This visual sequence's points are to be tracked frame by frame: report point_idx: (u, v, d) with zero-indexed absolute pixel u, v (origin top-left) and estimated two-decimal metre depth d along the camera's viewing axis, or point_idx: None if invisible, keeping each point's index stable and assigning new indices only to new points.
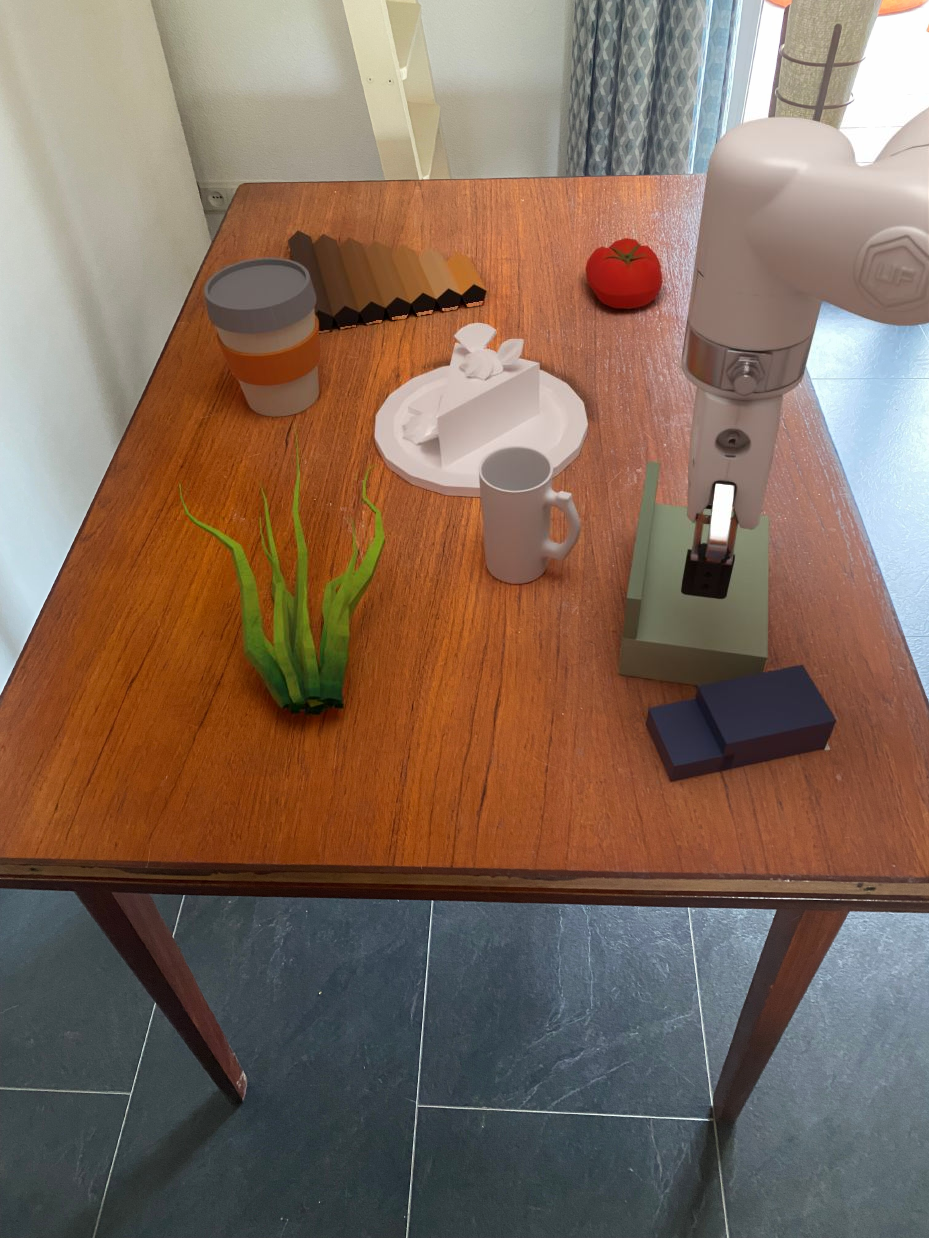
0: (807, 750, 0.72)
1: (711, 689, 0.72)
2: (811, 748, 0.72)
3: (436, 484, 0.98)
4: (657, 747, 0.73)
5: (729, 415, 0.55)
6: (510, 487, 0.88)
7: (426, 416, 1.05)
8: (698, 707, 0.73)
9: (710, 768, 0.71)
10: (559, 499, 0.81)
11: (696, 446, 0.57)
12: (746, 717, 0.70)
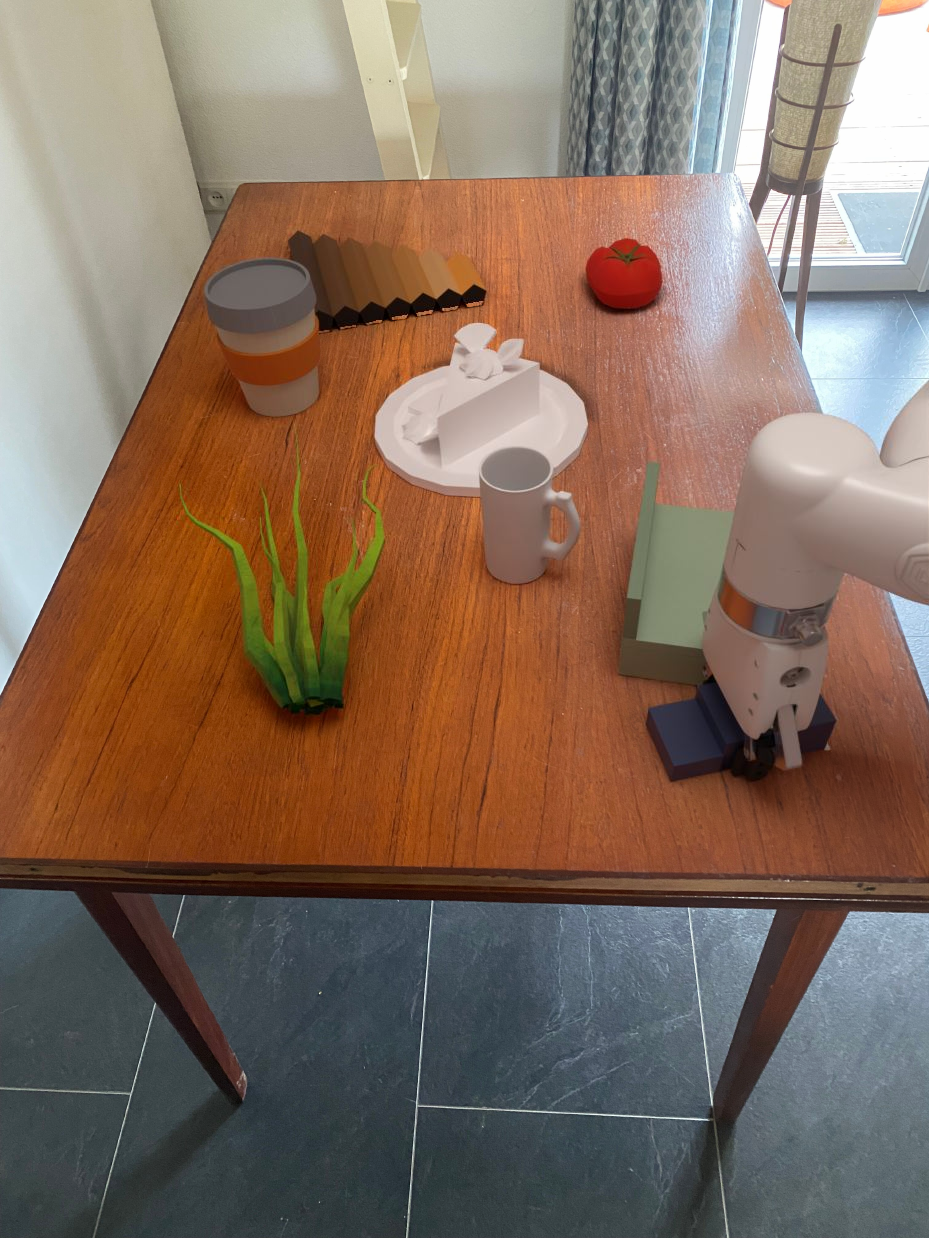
0: (807, 750, 0.72)
1: (711, 689, 0.72)
2: (811, 748, 0.72)
3: (436, 484, 0.98)
4: (657, 747, 0.73)
5: (792, 658, 0.60)
6: (510, 487, 0.88)
7: (426, 416, 1.05)
8: (698, 707, 0.73)
9: (710, 768, 0.71)
10: (559, 499, 0.81)
11: (758, 684, 0.62)
12: None
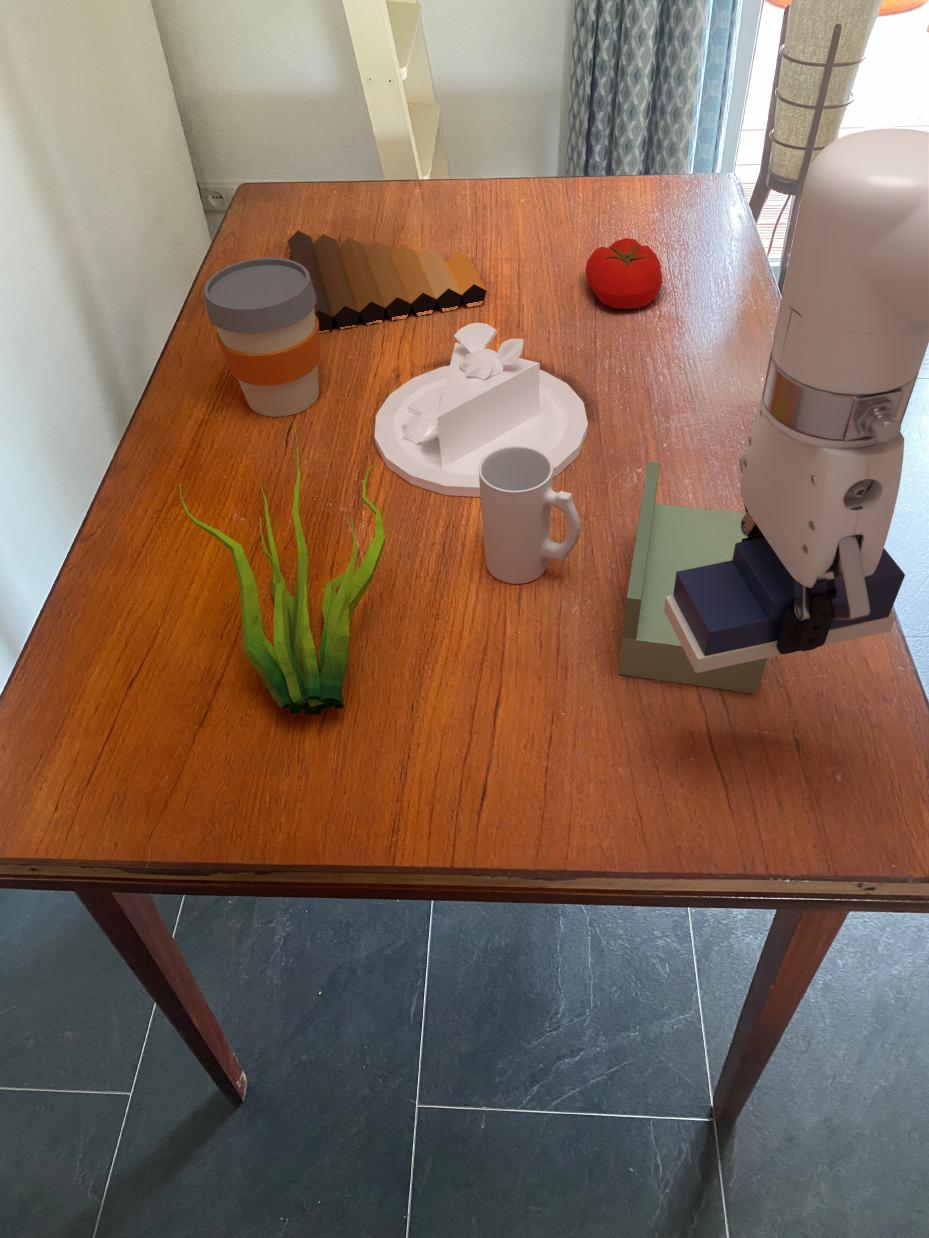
0: (868, 617, 0.60)
1: (751, 546, 0.61)
2: (873, 615, 0.60)
3: (436, 484, 0.98)
4: (688, 617, 0.61)
5: (859, 466, 0.48)
6: (510, 487, 0.88)
7: (426, 416, 1.05)
8: (736, 569, 0.62)
9: (752, 637, 0.59)
10: (559, 499, 0.81)
11: (816, 508, 0.50)
12: None
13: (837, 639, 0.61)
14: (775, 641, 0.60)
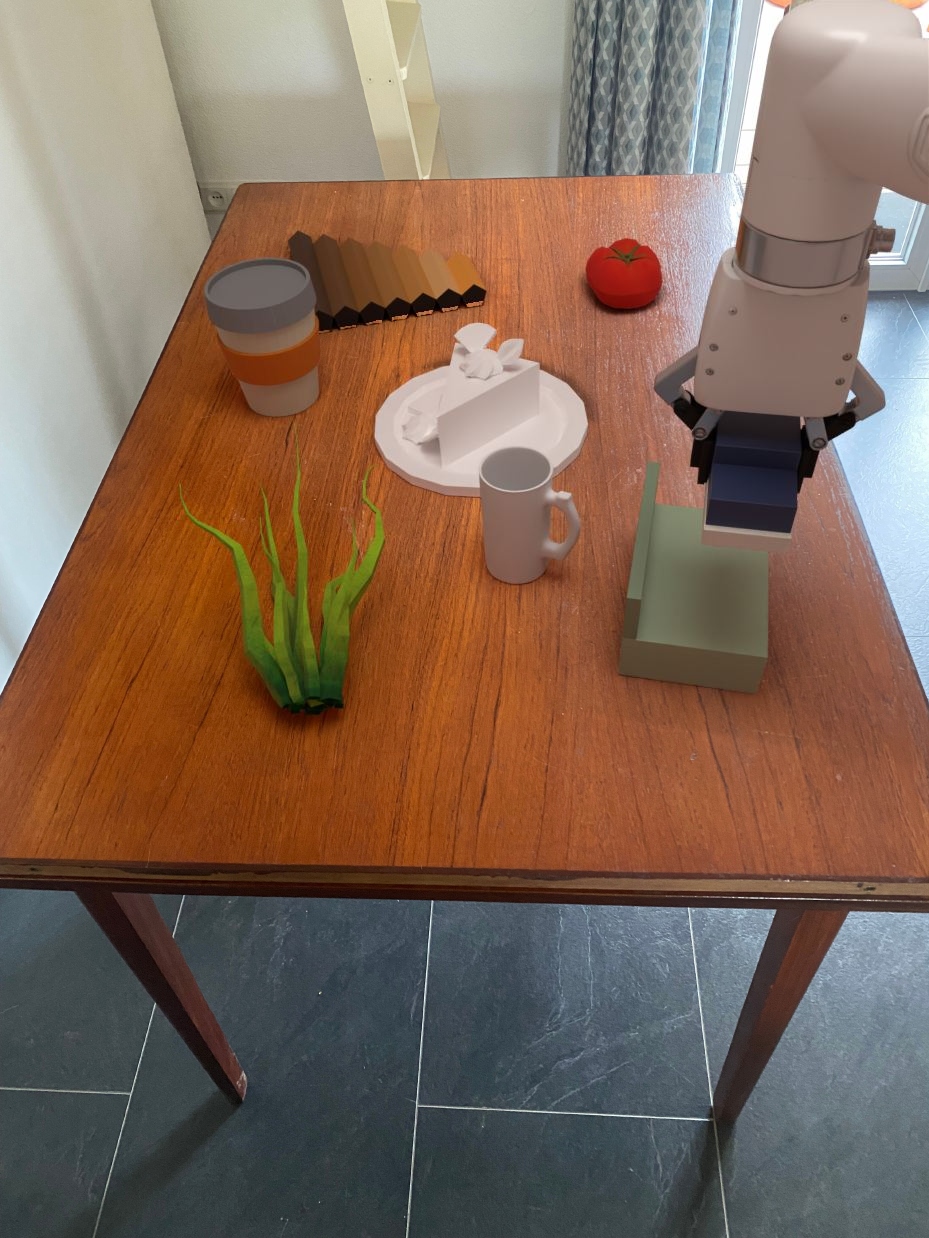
0: None
1: (725, 438, 0.64)
2: None
3: (436, 484, 0.98)
4: (746, 523, 0.63)
5: (868, 284, 0.56)
6: (510, 487, 0.88)
7: (426, 416, 1.05)
8: (726, 465, 0.65)
9: None
10: (559, 499, 0.81)
11: (851, 339, 0.57)
12: (772, 428, 0.65)
13: None
14: None
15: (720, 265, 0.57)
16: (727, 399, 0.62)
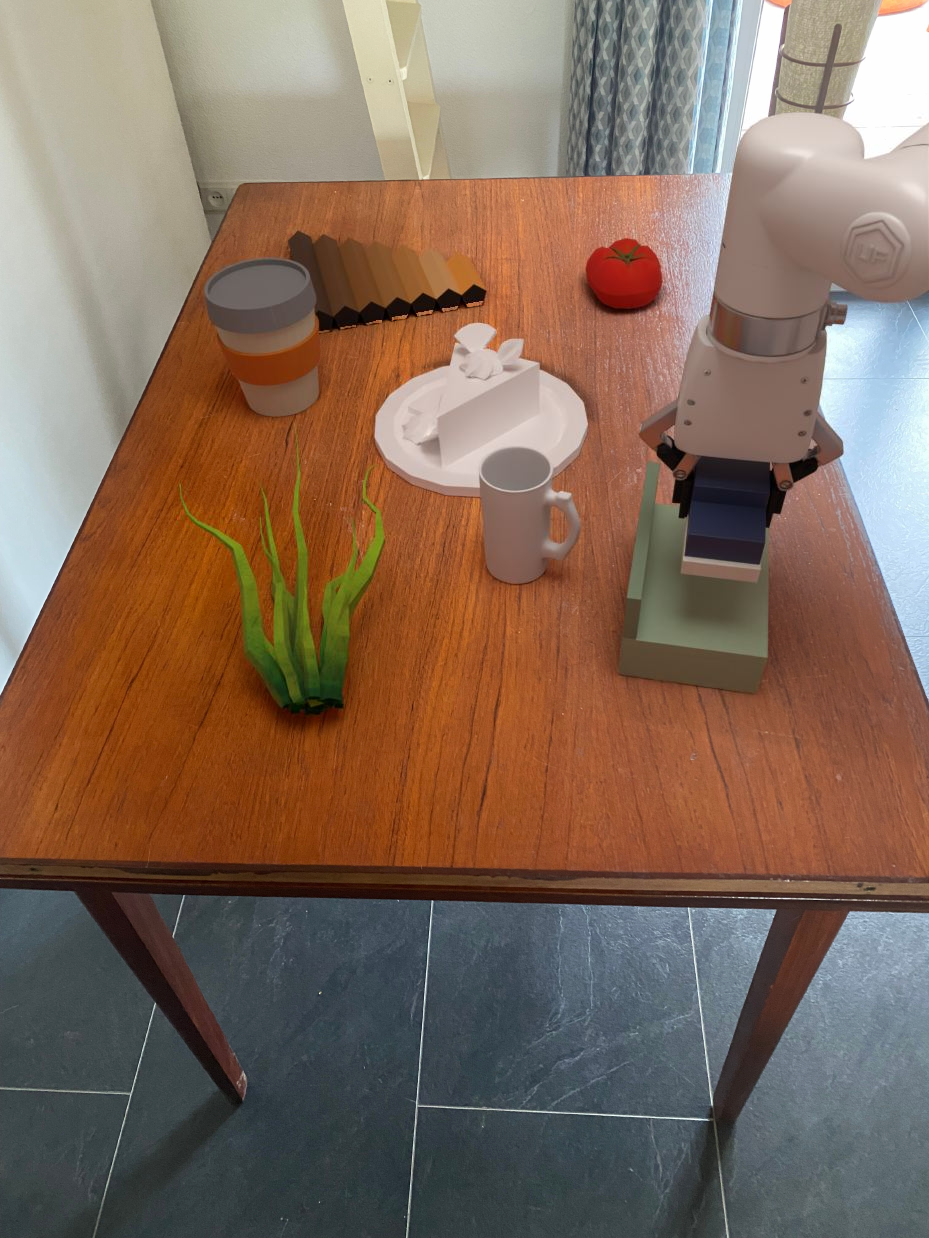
0: None
1: (702, 479, 0.72)
2: None
3: (436, 484, 0.98)
4: (720, 555, 0.71)
5: (825, 351, 0.63)
6: (510, 487, 0.88)
7: (426, 416, 1.05)
8: (704, 502, 0.73)
9: None
10: (559, 499, 0.81)
11: (810, 397, 0.64)
12: (745, 470, 0.73)
13: None
14: None
15: (696, 331, 0.65)
16: (703, 446, 0.69)
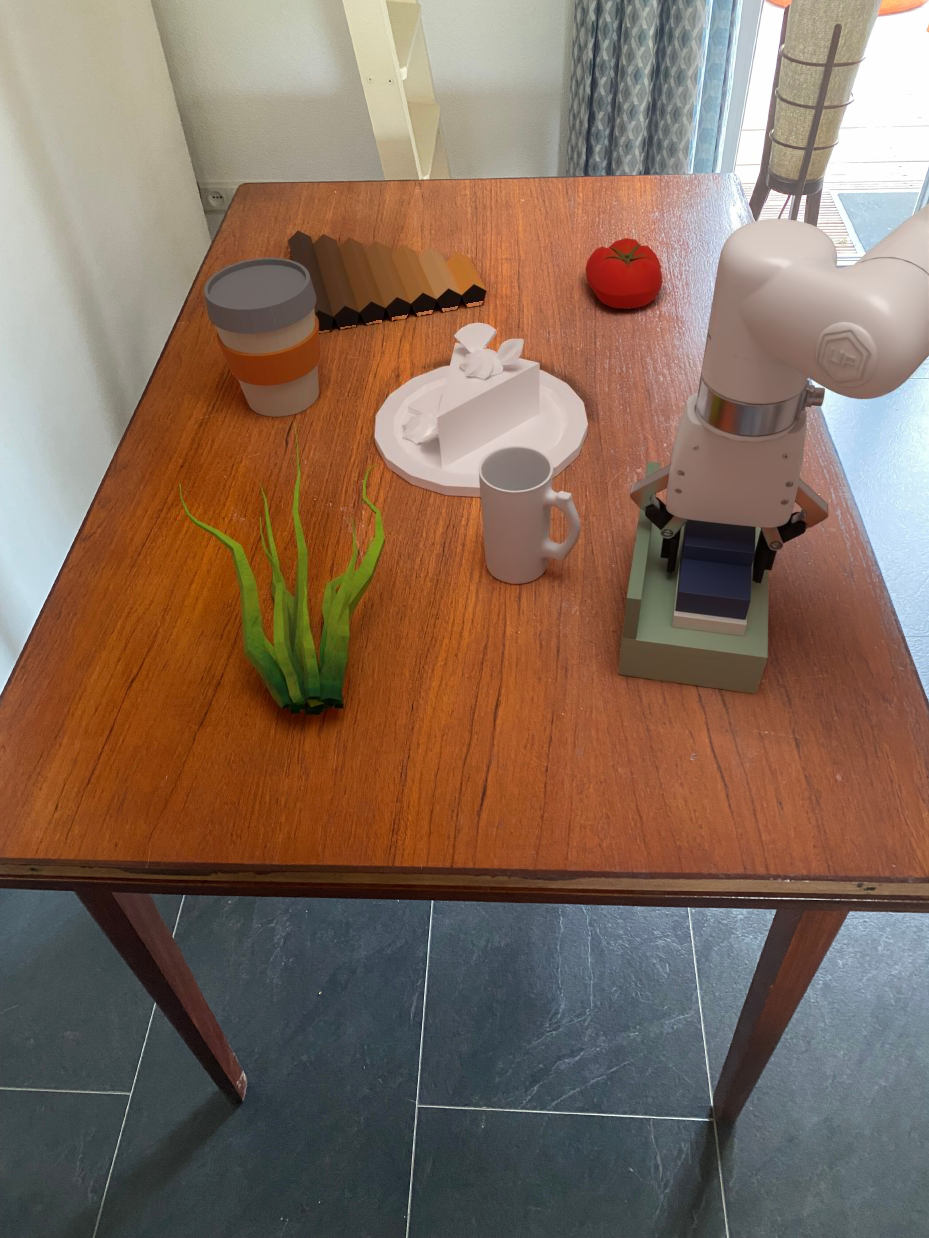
0: None
1: (692, 538, 0.77)
2: None
3: (436, 484, 0.98)
4: (708, 610, 0.76)
5: (805, 429, 0.68)
6: (510, 487, 0.88)
7: (426, 416, 1.05)
8: (693, 560, 0.78)
9: None
10: (559, 499, 0.81)
11: (791, 471, 0.69)
12: (732, 530, 0.77)
13: None
14: None
15: (685, 409, 0.70)
16: (693, 512, 0.74)
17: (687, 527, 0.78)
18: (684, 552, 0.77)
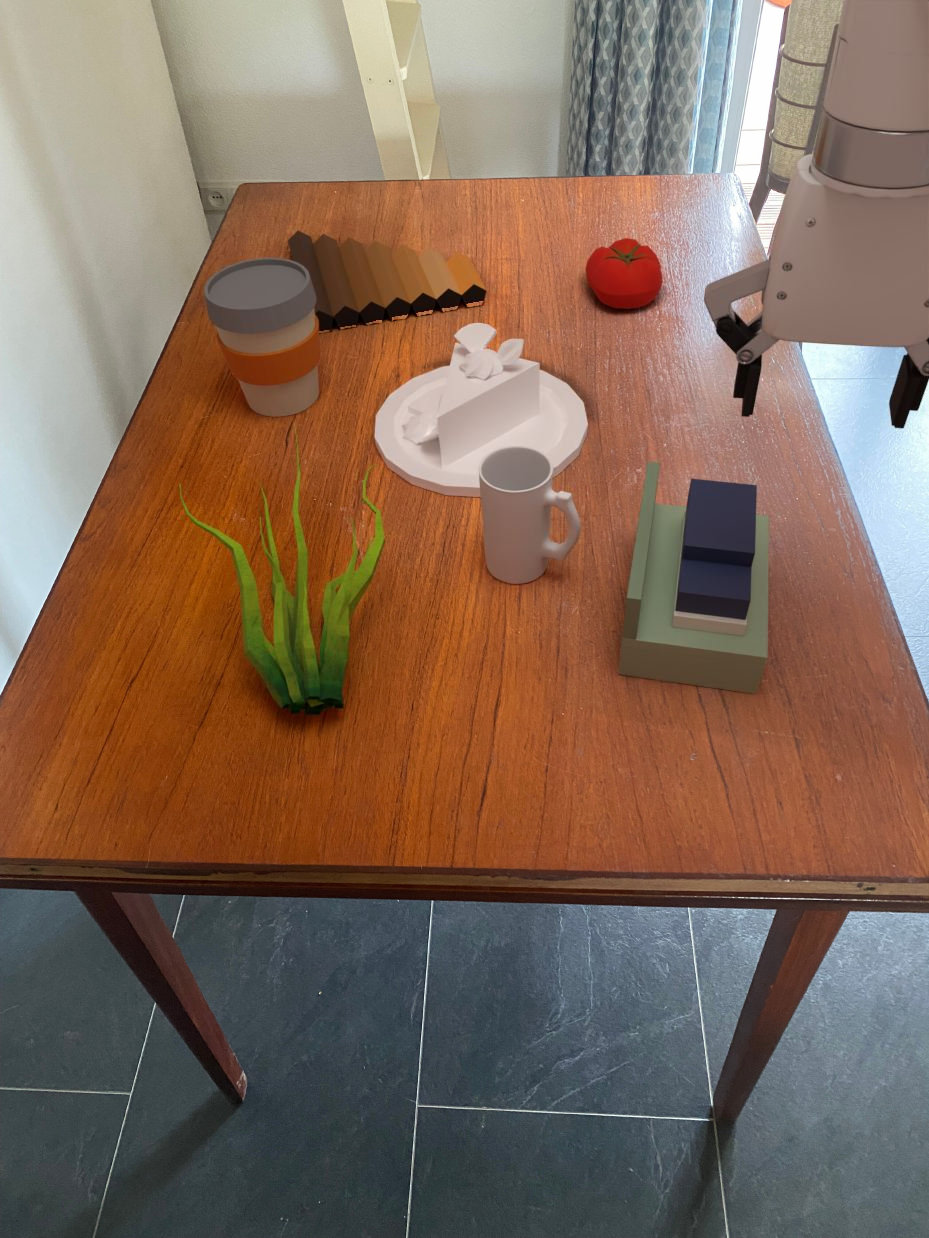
0: None
1: (692, 538, 0.77)
2: None
3: (436, 484, 0.98)
4: (708, 610, 0.76)
5: None
6: (510, 487, 0.88)
7: (426, 416, 1.05)
8: (693, 560, 0.78)
9: None
10: (559, 499, 0.81)
11: None
12: (732, 530, 0.77)
13: None
14: None
15: (796, 173, 0.52)
16: (800, 328, 0.56)
17: (687, 527, 0.78)
18: (684, 552, 0.77)
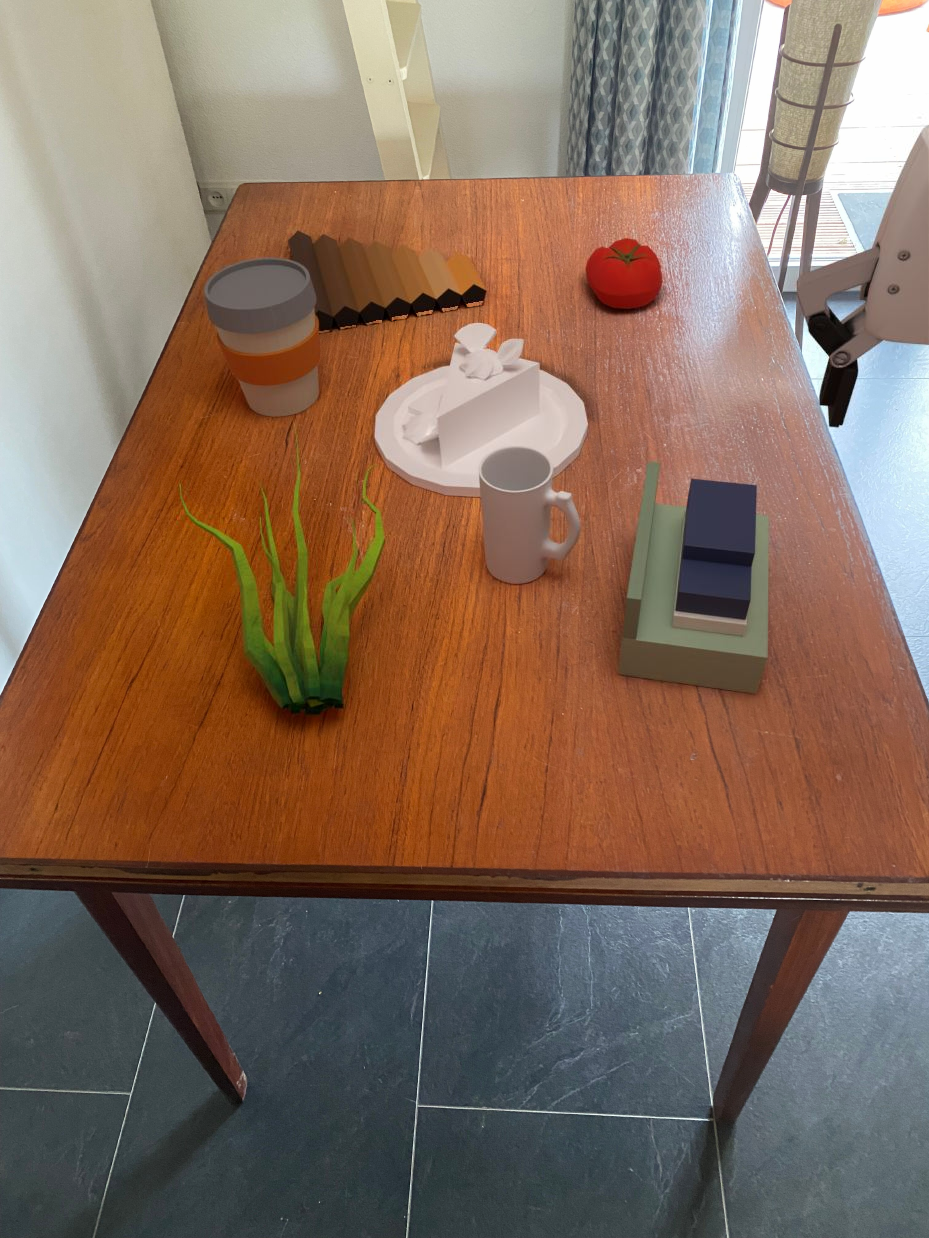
0: None
1: (692, 538, 0.77)
2: None
3: (436, 484, 0.98)
4: (708, 610, 0.76)
5: None
6: (510, 487, 0.88)
7: (426, 416, 1.05)
8: (693, 560, 0.78)
9: None
10: (559, 499, 0.81)
11: None
12: (732, 530, 0.77)
13: None
14: None
15: (920, 144, 0.44)
16: (911, 327, 0.48)
17: (687, 527, 0.78)
18: (684, 552, 0.77)
